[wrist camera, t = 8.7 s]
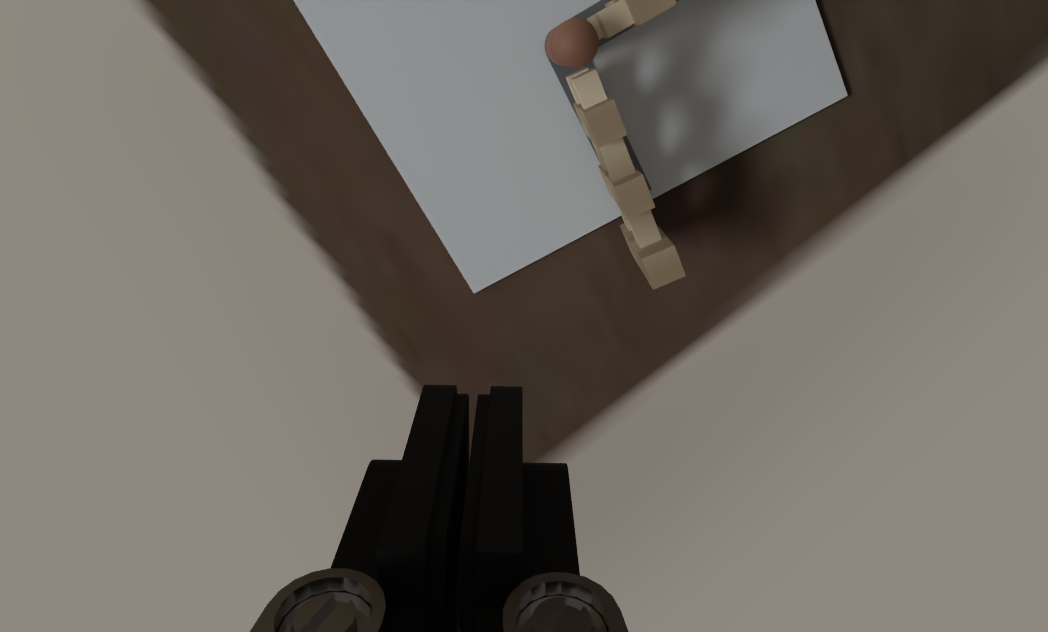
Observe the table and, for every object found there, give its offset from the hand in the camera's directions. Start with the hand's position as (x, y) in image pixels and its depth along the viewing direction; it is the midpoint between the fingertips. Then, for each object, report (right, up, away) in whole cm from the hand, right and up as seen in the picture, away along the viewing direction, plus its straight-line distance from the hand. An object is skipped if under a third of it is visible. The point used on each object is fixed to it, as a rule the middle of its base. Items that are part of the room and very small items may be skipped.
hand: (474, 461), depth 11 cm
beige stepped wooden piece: (+4, +9, +15) cm, 18 cm away
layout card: (+3, +13, +14) cm, 19 cm away
